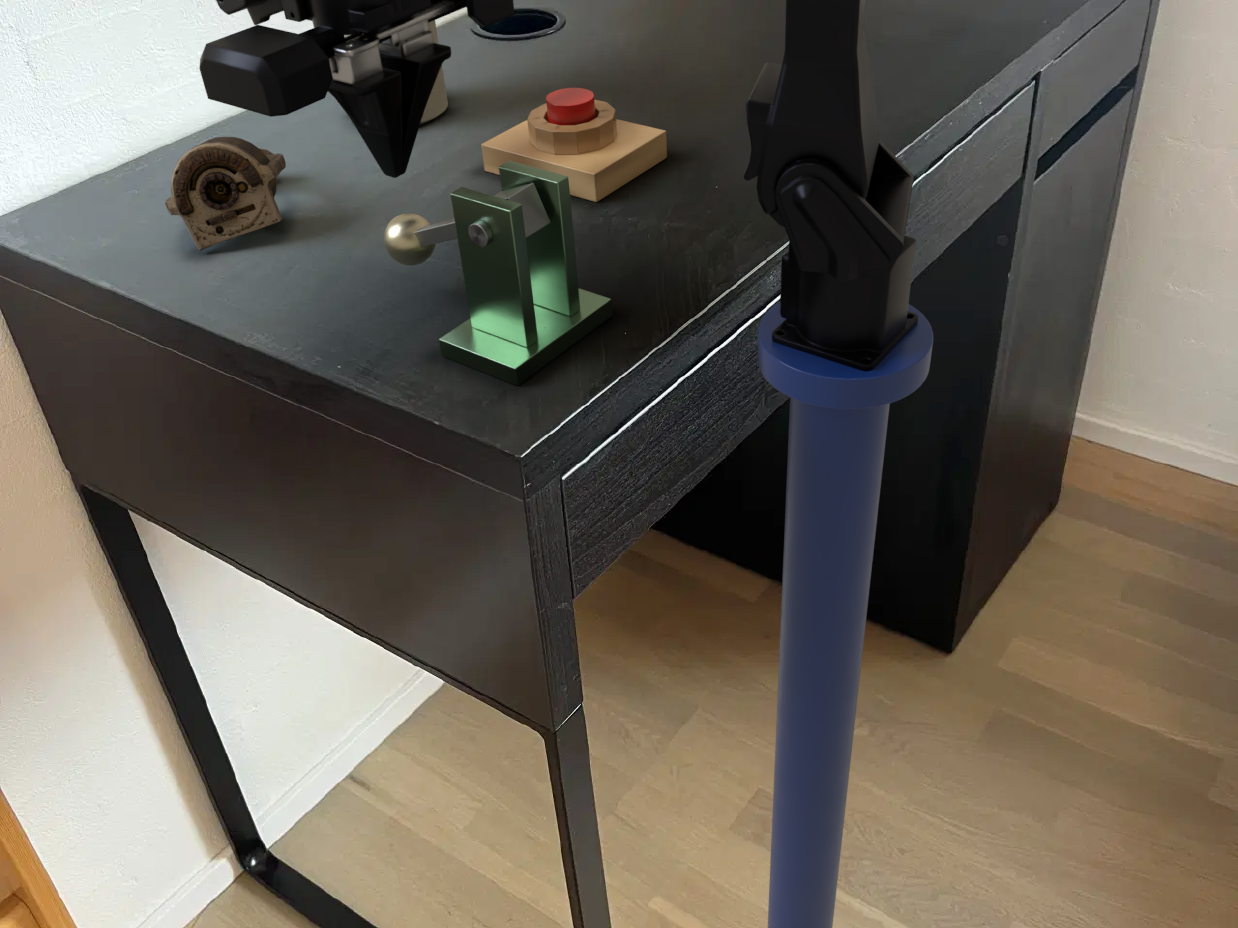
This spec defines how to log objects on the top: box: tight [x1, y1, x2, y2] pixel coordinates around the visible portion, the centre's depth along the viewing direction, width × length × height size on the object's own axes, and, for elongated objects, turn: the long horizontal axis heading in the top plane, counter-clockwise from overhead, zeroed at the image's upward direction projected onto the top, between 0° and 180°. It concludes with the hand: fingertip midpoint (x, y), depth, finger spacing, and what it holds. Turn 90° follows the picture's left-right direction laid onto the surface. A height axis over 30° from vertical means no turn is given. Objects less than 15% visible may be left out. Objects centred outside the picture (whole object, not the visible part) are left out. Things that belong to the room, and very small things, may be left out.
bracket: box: [438, 161, 613, 387], centre depth 66 cm, size 6×9×10 cm, turn 143°
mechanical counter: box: [164, 136, 287, 251], centre depth 82 cm, size 7×13×10 cm
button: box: [545, 87, 596, 125], centre depth 85 cm, size 4×4×2 cm
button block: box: [480, 98, 668, 203], centre depth 87 cm, size 11×9×4 cm
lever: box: [383, 183, 550, 266], centre depth 68 cm, size 13×3×3 cm, turn 53°
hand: (394, 174), depth 69 cm, fingers closed
